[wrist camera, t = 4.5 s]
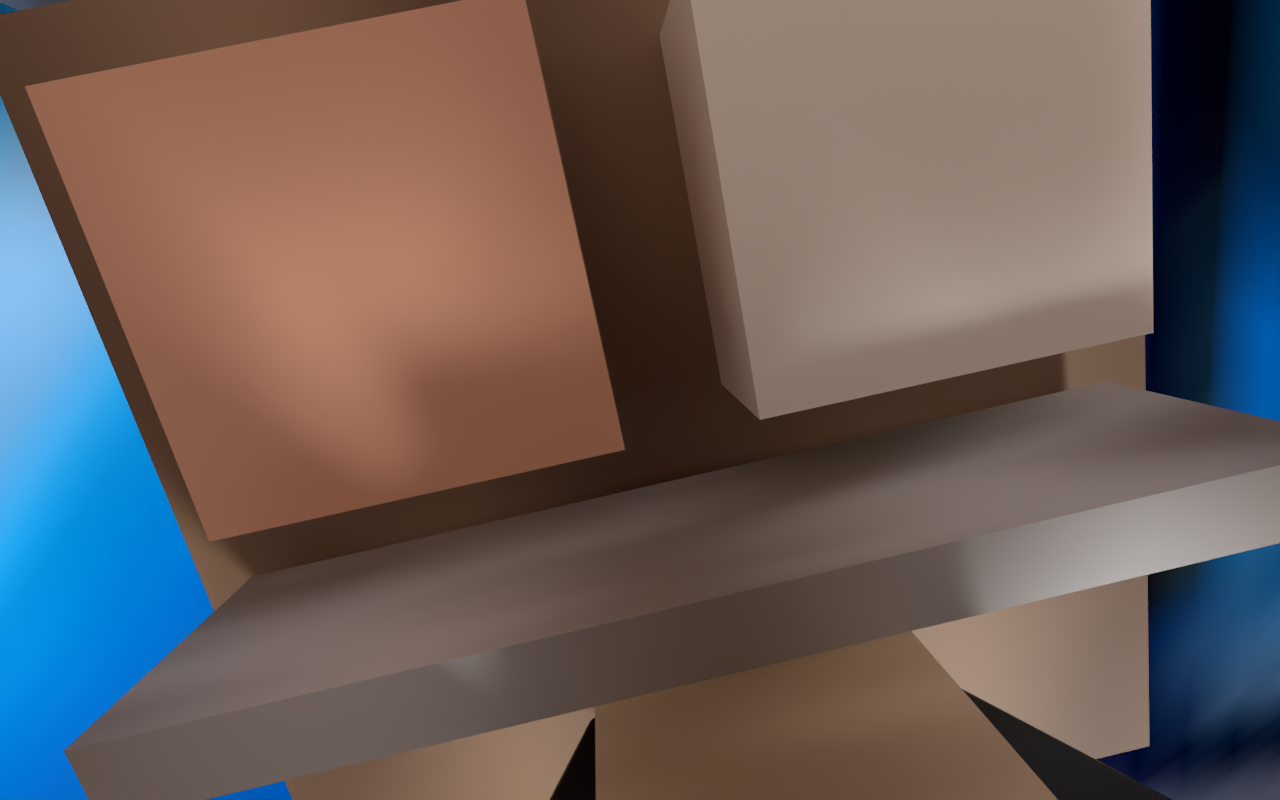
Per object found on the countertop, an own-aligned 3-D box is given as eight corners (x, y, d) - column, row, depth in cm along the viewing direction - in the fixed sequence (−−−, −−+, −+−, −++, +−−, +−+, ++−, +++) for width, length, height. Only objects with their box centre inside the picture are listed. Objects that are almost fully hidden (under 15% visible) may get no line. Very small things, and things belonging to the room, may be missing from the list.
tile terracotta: (540, 59, 8) (522, -12, 6) (617, 407, 9) (625, 450, 7) (173, 132, 7) (25, 85, 5) (297, 477, 8) (209, 541, 6)
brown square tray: (921, -20, 12) (1139, -205, 7) (974, 593, 15) (1149, 745, 11) (224, 119, 12) (-30, 21, 7) (428, 721, 15) (351, 940, 10)
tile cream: (1008, -34, 8) (1149, -134, 6) (1027, 316, 9) (1152, 332, 7) (659, 34, 8) (683, -44, 6) (721, 384, 9) (759, 420, 7)
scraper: (1105, 381, 9) (1790, 538, 4) (1115, 672, 10) (1648, 1091, 5) (251, 577, 8) (-248, 1038, 3) (363, 855, 9) (112, 1508, 4)
